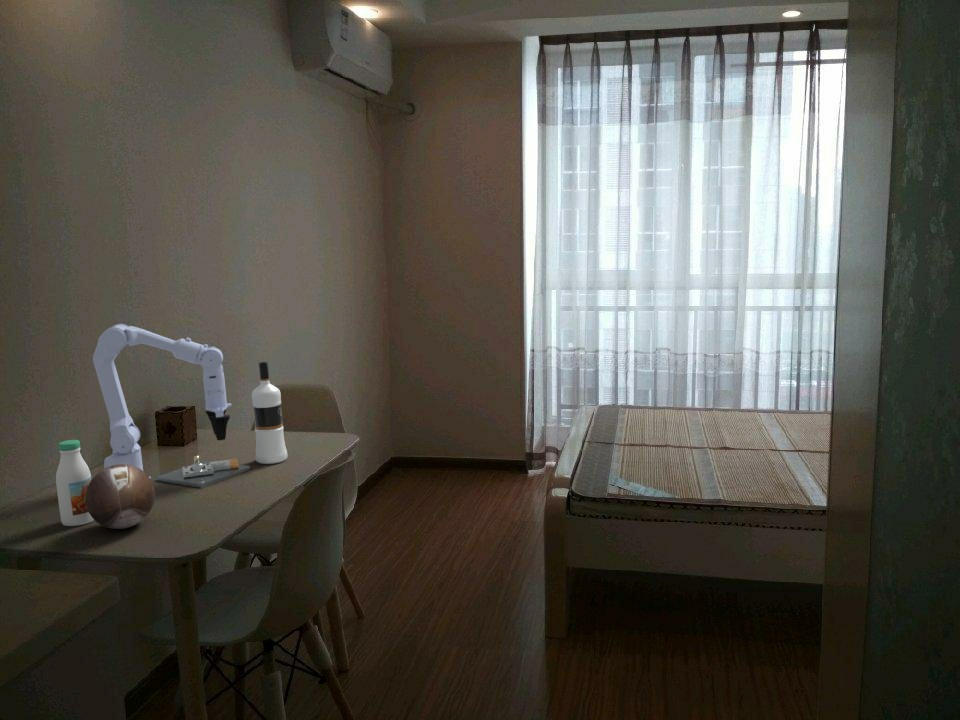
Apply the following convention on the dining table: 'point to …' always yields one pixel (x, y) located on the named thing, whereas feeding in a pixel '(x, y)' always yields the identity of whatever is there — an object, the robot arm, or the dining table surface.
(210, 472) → the silver flat metal piece
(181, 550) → the dining table surface
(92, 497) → the shiny brown metallic sphere
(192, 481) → the base plate
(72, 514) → the milk bottle
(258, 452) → the vodka
